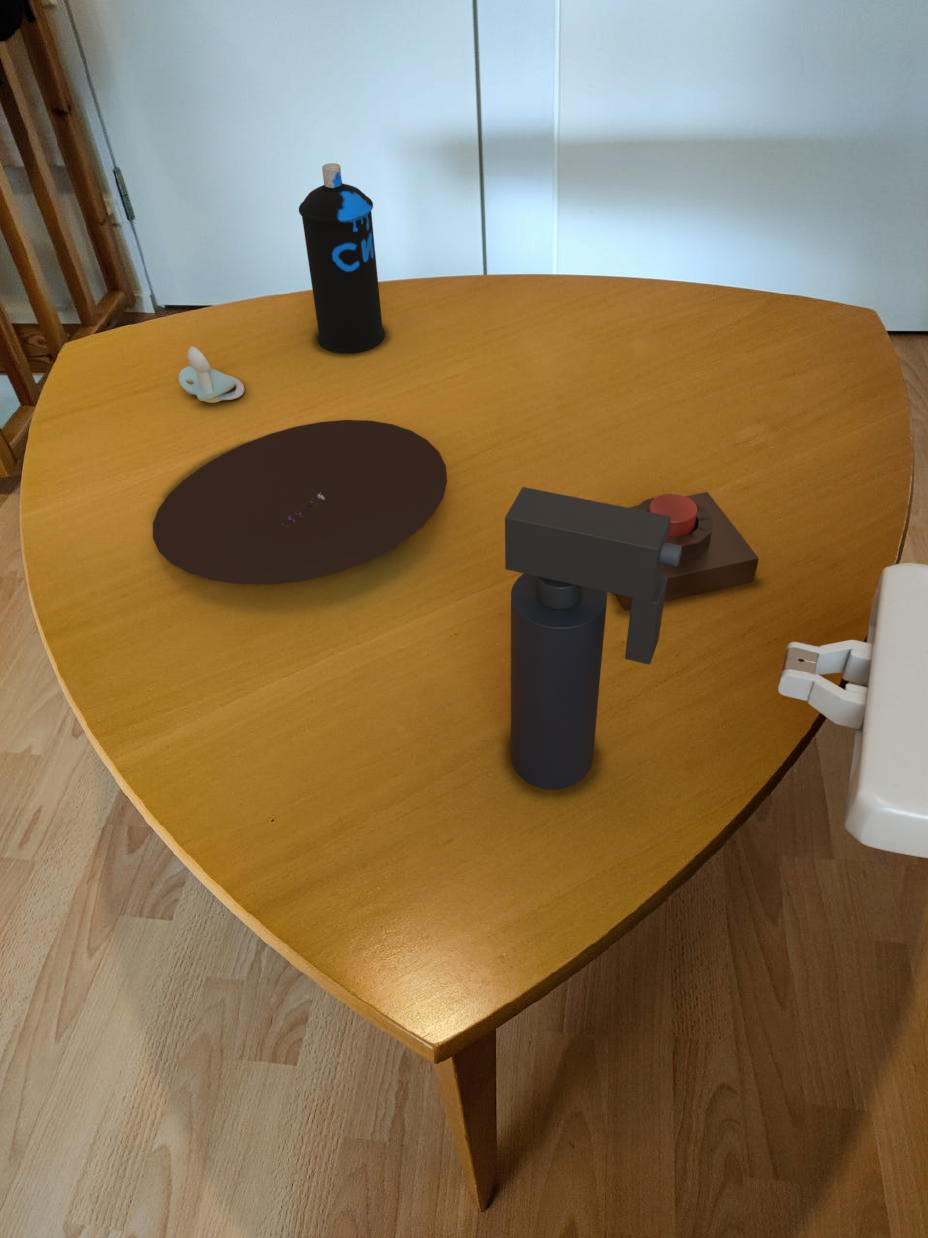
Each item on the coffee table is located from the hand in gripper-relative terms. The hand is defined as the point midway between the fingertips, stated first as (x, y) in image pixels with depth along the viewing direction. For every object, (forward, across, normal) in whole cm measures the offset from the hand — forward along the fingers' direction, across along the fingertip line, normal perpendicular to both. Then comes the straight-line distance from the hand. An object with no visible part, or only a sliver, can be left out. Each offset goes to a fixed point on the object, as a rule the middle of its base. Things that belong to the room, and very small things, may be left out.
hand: (782, 666), depth 59 cm
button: (+11, +25, -10) cm, 29 cm away
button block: (+11, +25, -15) cm, 31 cm away
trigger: (+8, 0, -1) cm, 9 cm away
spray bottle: (+12, 0, -15) cm, 19 cm away
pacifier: (+65, +37, -15) cm, 76 cm away
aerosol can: (+56, +54, -15) cm, 79 cm away
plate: (+45, +21, -15) cm, 52 cm away
